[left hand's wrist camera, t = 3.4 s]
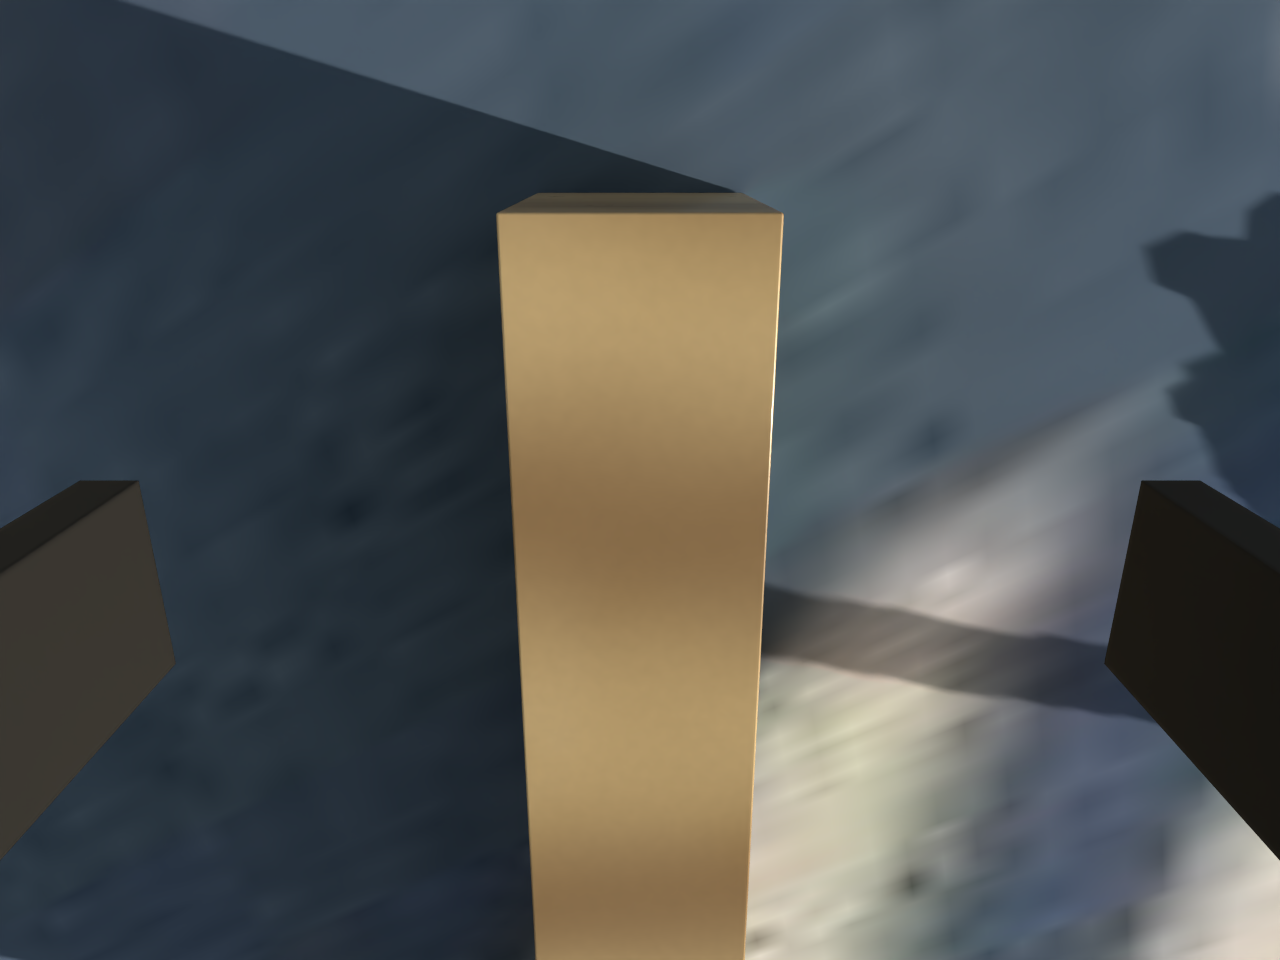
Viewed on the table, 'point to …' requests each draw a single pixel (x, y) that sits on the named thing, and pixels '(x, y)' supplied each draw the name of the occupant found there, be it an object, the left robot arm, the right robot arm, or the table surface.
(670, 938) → the ash beam
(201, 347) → the table surface
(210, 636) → the table surface
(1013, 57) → the table surface
